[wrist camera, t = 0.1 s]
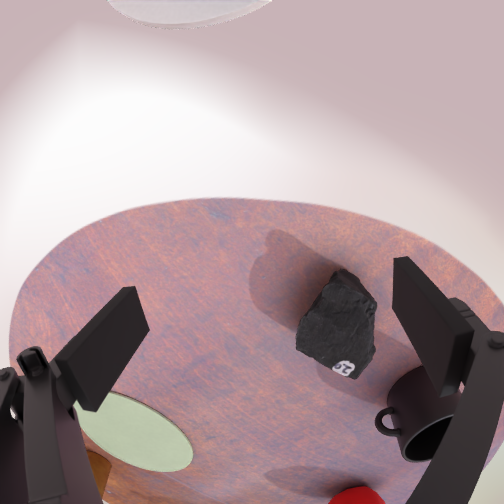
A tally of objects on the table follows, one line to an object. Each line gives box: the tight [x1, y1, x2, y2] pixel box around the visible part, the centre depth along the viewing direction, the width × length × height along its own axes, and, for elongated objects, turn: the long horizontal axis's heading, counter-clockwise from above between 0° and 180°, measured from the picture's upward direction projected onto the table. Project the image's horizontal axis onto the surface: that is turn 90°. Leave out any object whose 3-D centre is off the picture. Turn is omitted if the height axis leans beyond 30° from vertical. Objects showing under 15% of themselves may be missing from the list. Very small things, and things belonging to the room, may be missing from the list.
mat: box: [74, 391, 193, 472], centre depth 43 cm, size 22×22×1 cm
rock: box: [296, 269, 377, 379], centre depth 28 cm, size 9×10×6 cm
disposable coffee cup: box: [86, 451, 112, 498], centre depth 43 cm, size 10×10×12 cm
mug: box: [375, 366, 462, 462], centre depth 30 cm, size 9×12×9 cm
